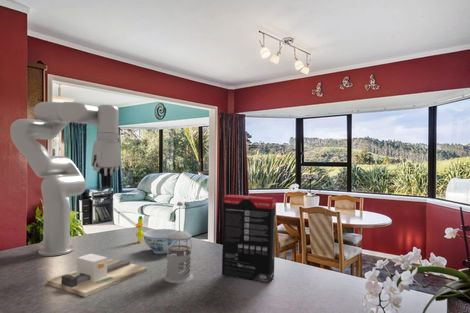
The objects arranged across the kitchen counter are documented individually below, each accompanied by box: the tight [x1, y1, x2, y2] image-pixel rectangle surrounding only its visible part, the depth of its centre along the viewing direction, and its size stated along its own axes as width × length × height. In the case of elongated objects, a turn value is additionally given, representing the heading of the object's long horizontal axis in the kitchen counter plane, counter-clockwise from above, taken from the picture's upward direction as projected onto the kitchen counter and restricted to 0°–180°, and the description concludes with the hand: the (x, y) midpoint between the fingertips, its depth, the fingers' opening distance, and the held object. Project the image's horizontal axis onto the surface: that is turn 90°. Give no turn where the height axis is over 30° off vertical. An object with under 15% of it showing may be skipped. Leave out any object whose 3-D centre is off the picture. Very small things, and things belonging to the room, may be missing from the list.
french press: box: [163, 201, 194, 284], centre depth 106 cm, size 10×12×25 cm
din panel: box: [46, 258, 148, 298], centre depth 104 cm, size 18×24×4 cm
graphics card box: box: [221, 194, 277, 284], centre depth 106 cm, size 17×7×27 cm, turn 71°
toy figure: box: [135, 215, 145, 244], centre depth 146 cm, size 7×4×12 cm, turn 174°
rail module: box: [76, 253, 108, 281], centre depth 101 cm, size 9×5×6 cm, turn 62°
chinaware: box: [143, 228, 179, 255], centre depth 133 cm, size 15×15×8 cm
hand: (105, 185), depth 121 cm, fingers closed
